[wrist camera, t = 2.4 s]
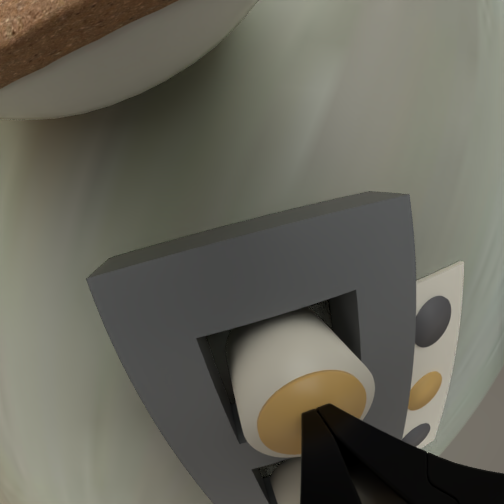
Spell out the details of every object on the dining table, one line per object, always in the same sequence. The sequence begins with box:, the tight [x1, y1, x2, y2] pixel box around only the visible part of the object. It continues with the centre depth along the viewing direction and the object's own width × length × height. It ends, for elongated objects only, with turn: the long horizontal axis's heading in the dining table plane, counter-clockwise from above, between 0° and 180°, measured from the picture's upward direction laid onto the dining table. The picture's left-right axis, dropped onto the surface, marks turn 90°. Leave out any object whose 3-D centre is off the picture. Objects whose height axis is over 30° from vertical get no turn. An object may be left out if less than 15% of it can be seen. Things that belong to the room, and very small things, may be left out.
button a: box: [226, 306, 375, 458], centre depth 9 cm, size 4×4×4 cm
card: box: [402, 261, 464, 449], centre depth 14 cm, size 5×15×1 cm, turn 13°
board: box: [86, 191, 416, 504], centre depth 12 cm, size 10×24×2 cm, turn 13°
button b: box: [270, 457, 301, 504], centre depth 9 cm, size 4×4×4 cm
